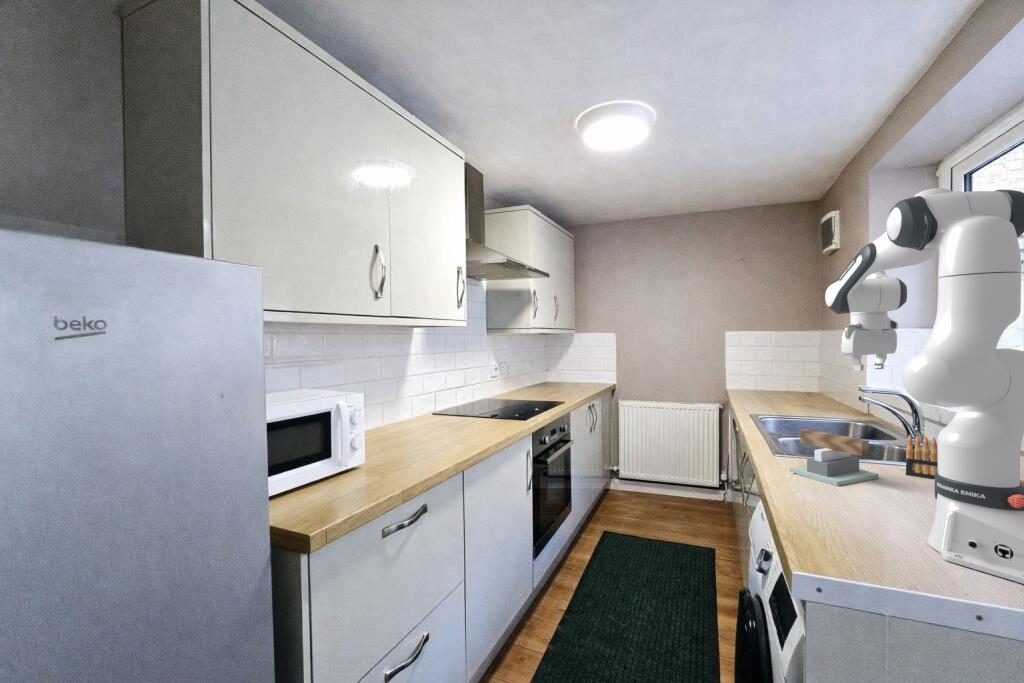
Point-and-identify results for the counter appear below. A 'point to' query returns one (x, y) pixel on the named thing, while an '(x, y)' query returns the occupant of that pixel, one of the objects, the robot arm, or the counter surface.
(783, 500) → the counter surface
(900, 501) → the counter surface
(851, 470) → the ridge stand
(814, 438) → the walnut batten
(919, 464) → the ammunition clip
